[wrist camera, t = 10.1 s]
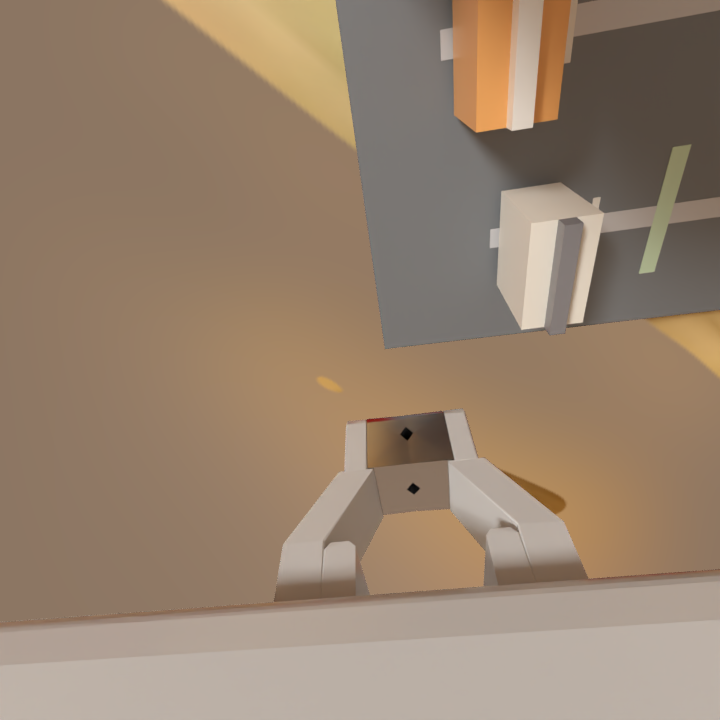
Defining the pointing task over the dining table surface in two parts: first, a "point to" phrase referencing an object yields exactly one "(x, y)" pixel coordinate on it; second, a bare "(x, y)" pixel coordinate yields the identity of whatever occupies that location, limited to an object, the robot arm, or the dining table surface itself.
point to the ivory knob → (547, 255)
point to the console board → (538, 163)
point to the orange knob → (508, 61)
